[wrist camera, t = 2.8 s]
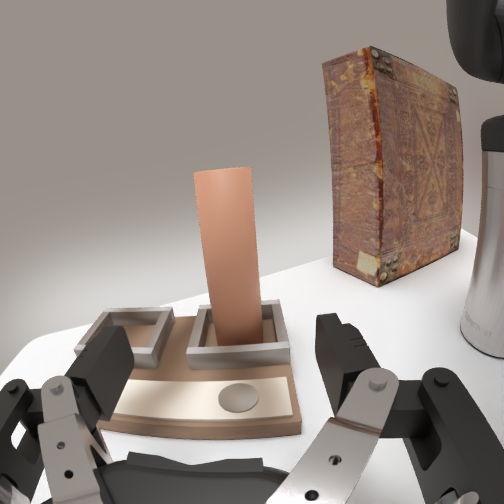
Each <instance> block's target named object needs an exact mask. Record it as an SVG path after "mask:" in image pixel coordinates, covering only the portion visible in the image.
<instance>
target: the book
mask: <svg viewBox="0 0 504 504" xmlns="http://www.w3.org/2000/svg"><path fill="white" fill-rule="evenodd" d="M322 68H323V75H324V83H325V93H326V102H327V112H328V123H329V136H330V149H331V168H332V191H333V266H334V267H336V268H338V269H340V270H343V271H345V272H347V273H349V274H351V275H354V276H356V277H358V278H360V279H362V280H364V281H367V282H369V283H371V284H373V285H375V286H377V287H380V286H382V285H385V284H387V283H389V282H392V281H394V280H396V279H398V278H400V277H403V276H405V275H407V274H409V273H411V272H414V271H416V270H418V269H420V268H422V267H424V266H426V265H428V264H430V263H432V262H434V261H437V260H439V259H441V258H443V257H445V256H447V255H449V254H451V253H452V252H454V251H456V250H458V248H459V240H460V230H461V219H462V218H461V217H462V203H463V145H462V144H463V143H462V128H461V117H460V109H459V101H458V94H457V89H456V87H454V86H452V85H451V84H449V83H447V82H445V81H444V80H442V79H440V78H438V77H437V76H435V75H433V74H431V73H429V72H427V71H425V70H423V69H422V68H420V67H418V66H415V65H413V64H412V63H409V62H407V61H405V60H403V59H401V58H399V57H396V56H394V55H392V54H389V53H387V52H385V51H382V50H380V49H377V48H375V47H372V46H369V47H366V48H363V49H360V50H357V51H354V52H351V53H349V54H346V55H343V56H340V57H338V58H335V59H332V60H330V61H327V62H325V63H322Z"/></svg>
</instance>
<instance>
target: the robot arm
mask: <svg viewBox="0 0 504 504" xmlns="http://www.w3.org/2000/svg"><path fill="white" fill-rule="evenodd" d="M446 3H447V23H448V32H449V38H450V43H451V47H452V50H453V53H454V56H455V58H456V60H457V61H458V63H459V65H460V66H461V67H462V69H463V70H464V71H465V72H467V73H468V74H469V75H471V76H473V77H476V78H479V79H482V80H485V81H490V82H496V83H501V84H504V0H446ZM481 144H482V145H481V146H482V200H481V214H480V225H479V235H478V242H477V249H476V255H475V261H474V267H473V272H472V278H471V282H470V287H469V291H468V296H467V300H466V304H465V308H464V312H463V315H462V319H461V324H460V327H461V331H462V333H463V335H464V337H465V338H466V339H467V340H468V342H470V343H471V344H472V345H473V346H474V347H476V348H477V349H479V350H481V351H482V352H485V353H487V354H489V355H492V356H496V357H502V358H504V115H501V116H496V117H493V118H490V119H488V120H486V121H485V122H484V123H483V124H482V126H481ZM315 354H316V360H317V363H318V366H319V369H320V372H321V375H322V379H323V382H324V385H325V388H326V391H327V394H328V397H329V400H330V404H331V407H332V410H333V413H334V418H333V417H330V418H329V419H328V420H327V422H326V423H325V425H324V426H323V428H322V429H321V431H320V432H319V434H318V435H317V437H316V438H315V440H314V441H313V443H312V444H311V445H310V447H309V448H308V450H307V451H306V453H305V454H304V455H303V457H302V458H301V459H300V461H299V462H298V463H297V465H296V466H295V467H294V469H293V470H292V471H291V473H288V472H286V471H283V470H280V469H276V468H271V467H265V466H263V460H262V458H250V459H225V460H220V461H215V462H210V463H204V464H198V465H187V464H183V463H180V462H177V461H173V460H170V459H167V458H164V457H161V456H157V455H149V454H142V453H135V452H129V453H128V456H127V460H122V461H116V462H113V460H112V458H111V456H110V453H109V451H108V449H107V446H106V444H105V442H104V439H103V437H102V434H101V431H100V429H99V427H98V426H97V422H98V420H102V421H108V422H110V419H111V417H112V415H113V412H114V410H115V408H116V406H117V403H118V401H119V399H120V397H121V394H122V392H123V390H124V388H125V385H126V383H127V381H128V379H129V377H130V374H131V372H132V370H133V368H134V354H133V351H132V349H131V346H130V343H129V340H128V337H127V334H126V331H125V329H124V327H123V326H121V325H106V326H105V327H104V328H103V329H102V331H101V332H100V333H99V335H98V336H96V337H95V338H93V339H92V340H91V341H89V342H88V343H87V344H86V346H85V347H84V349H83V351H81V353H80V354H79V355H78V356H79V357H77V358H76V360H75V361H74V362H73V364H72V365H71V367H70V368H69V370H68V371H67V372H66V374H65V375H64V376H55V377H52V378H50V379H49V380H47V381H46V382H45V383H44V384H43V386H42V388H41V389H29V387H28V386H27V384H26V382H25V381H24V380H22V379H14V380H12V381H10V382H8V383H7V384H6V385H5V386H4V387H3V388H2V390H1V391H0V504H31V501H32V499H33V496H34V493H35V490H36V487H37V485H38V482H39V479H40V477H41V474H42V472H43V469H44V468H45V472H46V476H47V481H48V484H49V488H50V492H51V496H52V498H50V499H48V500H46V501H45V502H43V503H41V504H345V503H346V502H347V500H348V498H349V496H350V495H351V493H352V491H353V489H354V488H355V486H356V484H357V482H358V480H359V478H360V477H361V475H362V473H363V471H364V469H365V467H366V465H367V463H368V461H369V459H370V457H371V455H372V452H373V450H374V448H375V446H376V444H377V441H378V439H379V438H403V441H404V444H405V446H406V449H407V452H408V454H409V457H410V460H411V462H412V465H413V468H414V471H415V474H416V476H417V479H418V482H419V485H420V488H421V491H422V494H423V497H424V500H425V503H426V504H504V449H503V447H502V445H501V443H500V442H499V440H498V438H497V436H496V435H495V433H494V431H493V430H492V428H491V426H490V425H489V423H488V422H487V420H486V418H485V417H484V415H483V414H482V412H481V410H480V409H479V407H478V406H477V404H476V403H475V401H474V400H473V398H472V397H471V395H470V394H469V392H468V391H467V389H466V388H465V386H464V385H463V383H462V382H461V381H460V379H459V378H458V376H457V375H456V374H455V373H454V372H452V371H451V370H449V369H446V368H440V367H438V368H432V369H429V370H428V371H426V372H425V373H424V375H423V377H422V380H398V378H397V376H396V375H395V374H394V373H393V372H391V371H389V370H387V369H384V368H381V367H380V365H379V364H378V362H377V360H376V358H375V357H374V355H373V353H372V352H371V350H370V348H369V346H367V343H366V341H365V340H364V339H363V336H362V335H361V333H360V331H359V330H358V329H357V328H355V327H354V326H353V325H351V324H350V323H347V324H342V323H341V321H340V319H339V318H338V316H337V314H336V313H330V314H322V315H317V318H316V338H315ZM19 421H20V423H21V424H22V425H23V427H24V428H25V429H26V432H25V434H24V436H23V437H22V439H21V441H20V443H19V445H18V447H17V449H15V448H14V446H13V445H12V442H11V435H12V433H13V431H14V430H15V428H16V426H17V424H18V422H19Z"/></svg>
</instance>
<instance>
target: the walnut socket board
mask: <svg viewBox="0 0 504 504" xmlns="http://www.w3.org/2000/svg"><path fill="white" fill-rule="evenodd" d="M261 310H262V324H263V342H262V344H251V345H235V346H218V344H217V339H216V334H215V328H214V322H213V316H212V310H211V305H200V306H199V309H198V313H197V316H186V317H174V313H173V309H172V307H146V308H106V309H105V310H104V312H103V313H102V314H101V315H100V316H99V318H98V319H97V320H96V321H95V323H94V324H93V325H92V326H91V328H90V329H89V330H88V331H87V333H86V334H85V335H84V336H83V338H82V339H81V340H80V342H79V343H78V344H77V346H76V347H75V348H74V352H75V354H76V356H77V357H79V356H78V355H79V354H80V353H81V351H83V349H84V347H85V346H86V344H87V343H88V342H89V341H91V340H92V339H93V338H95V337H96V336H98V335H99V333H100V332H101V331H102V329H103V328H104V327H105V326H106V325H121V326H123V327H124V329H125V331H126V334H127V337H128V340H129V343H130V346H131V349H132V351H133V354H134V368H133V370H132V372H131V374H130V377H129V379H128V381H127V383H126V385H125V388H124V390H123V392H122V394H121V397H120V399H119V401H118V403H117V406H116V408H115V410H114V412H113V415H112V417H111V419H110V422H108V421H102V420H98V422H97V426H98V427H99V428H100V429H105V430H111V431H117V432H123V433H130V434H137V435H145V436H155V437H166V438H180V439H210V440H223V439H253V438H268V437H279V436H288V435H297V434H301V423H302V420H301V415H300V410H299V405H298V400H297V395H296V390H295V385H294V380H293V375H292V370H291V365H290V345H289V340H288V336H287V331H286V327H285V323H284V318H283V314H282V309H281V305H280V301H279V299H278V300H267V301H261Z"/></svg>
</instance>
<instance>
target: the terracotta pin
mask: <svg viewBox="0 0 504 504" xmlns="http://www.w3.org/2000/svg"><path fill="white" fill-rule="evenodd" d="M194 181H195V190H196V200H197V208H198V217H199V225H200V233H201V241H202V248H203V255H204V263H205V270H206V277H207V284H208V290H209V297H210V303H211V310H212V316H213V322H214V328H215V334H216V339H217V344H218V346H235V345H251V344H262V342H263V324H262V310H261V297H260V283H259V272H258V271H259V270H258V257H257V245H256V231H255V218H254V205H253V193H252V179H251V167H238V168H226V169H217V170H209V171H200V172H194Z"/></svg>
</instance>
